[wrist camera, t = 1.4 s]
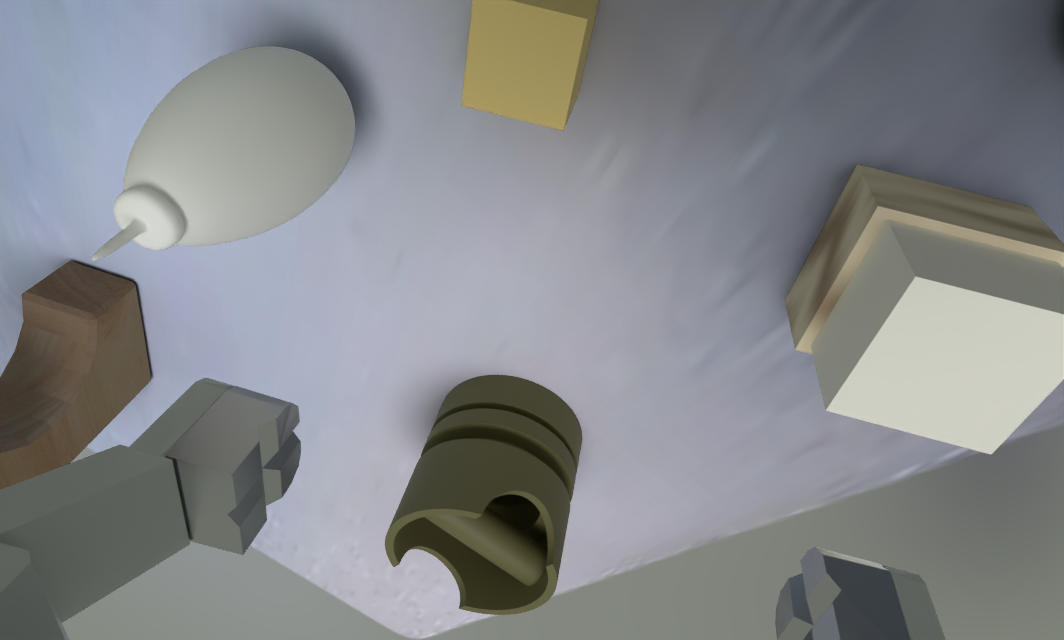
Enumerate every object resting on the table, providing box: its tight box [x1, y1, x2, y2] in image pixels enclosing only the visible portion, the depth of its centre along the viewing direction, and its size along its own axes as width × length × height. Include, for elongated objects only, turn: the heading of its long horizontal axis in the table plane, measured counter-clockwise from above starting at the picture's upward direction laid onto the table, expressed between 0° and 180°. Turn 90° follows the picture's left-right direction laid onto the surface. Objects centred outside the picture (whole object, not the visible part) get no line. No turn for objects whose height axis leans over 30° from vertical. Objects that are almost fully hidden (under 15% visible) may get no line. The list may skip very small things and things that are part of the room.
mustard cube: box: [461, 0, 599, 131], centre depth 31 cm, size 5×5×5 cm
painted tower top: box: [811, 219, 1064, 454], centre depth 31 cm, size 8×8×5 cm
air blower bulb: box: [92, 46, 355, 260], centre depth 30 cm, size 8×8×18 cm
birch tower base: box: [785, 164, 1064, 354], centre depth 35 cm, size 9×9×5 cm
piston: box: [385, 375, 582, 615], centre depth 46 cm, size 11×12×11 cm
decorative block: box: [0, 261, 151, 490], centre depth 44 cm, size 11×6×20 cm, turn 164°
